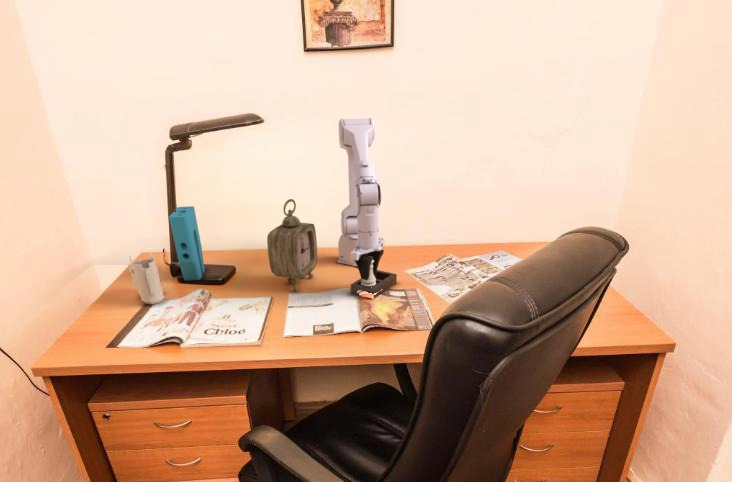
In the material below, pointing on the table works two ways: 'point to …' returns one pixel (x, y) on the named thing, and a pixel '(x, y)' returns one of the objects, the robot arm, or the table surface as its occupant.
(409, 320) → the table surface
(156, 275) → the cable organizer
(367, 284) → the rook chess piece
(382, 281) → the rack
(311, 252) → the tabletop clock
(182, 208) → the block
